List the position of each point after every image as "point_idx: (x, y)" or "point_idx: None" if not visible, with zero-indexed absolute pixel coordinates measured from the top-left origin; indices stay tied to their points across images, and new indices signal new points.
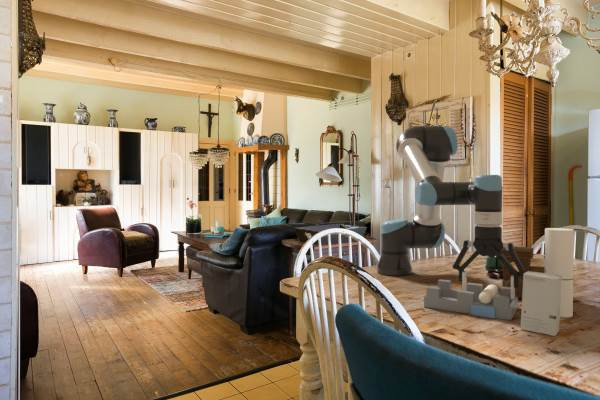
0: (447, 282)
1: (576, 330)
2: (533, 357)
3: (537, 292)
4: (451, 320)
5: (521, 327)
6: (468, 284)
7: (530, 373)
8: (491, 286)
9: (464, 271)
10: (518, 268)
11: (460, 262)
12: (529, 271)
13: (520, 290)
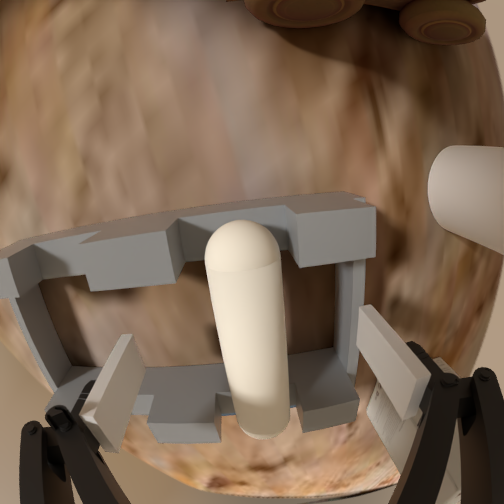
0: (16, 296)
1: (470, 325)
2: (373, 472)
3: None
4: (201, 444)
5: (368, 415)
6: (100, 289)
7: (364, 492)
8: (257, 328)
9: (98, 434)
10: (463, 441)
11: (45, 461)
12: (459, 492)
13: (328, 13)
